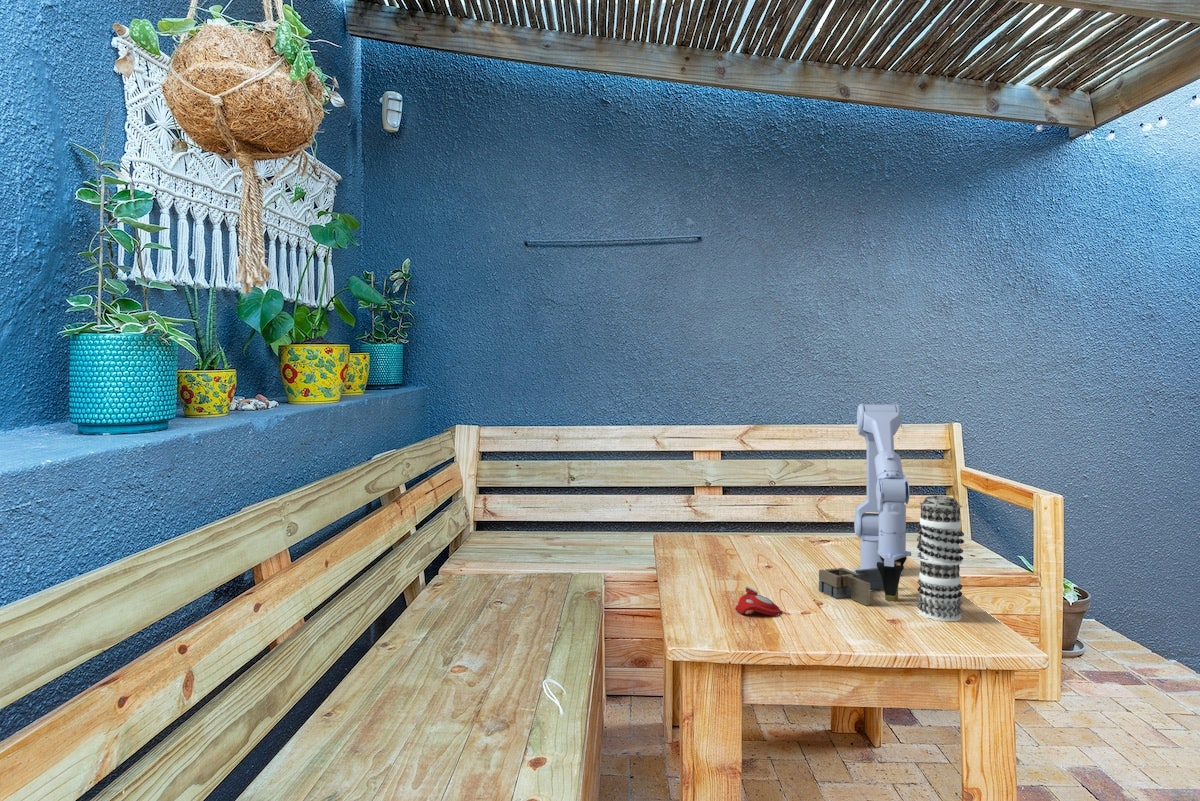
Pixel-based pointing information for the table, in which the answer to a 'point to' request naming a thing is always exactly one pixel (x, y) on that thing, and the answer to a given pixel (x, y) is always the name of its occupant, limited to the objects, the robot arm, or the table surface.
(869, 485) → the robot arm
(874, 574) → the fixed leaf
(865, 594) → the swing leaf
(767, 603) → the tracker holder
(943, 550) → the decorative candle
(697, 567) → the table surface
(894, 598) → the hinge pin
